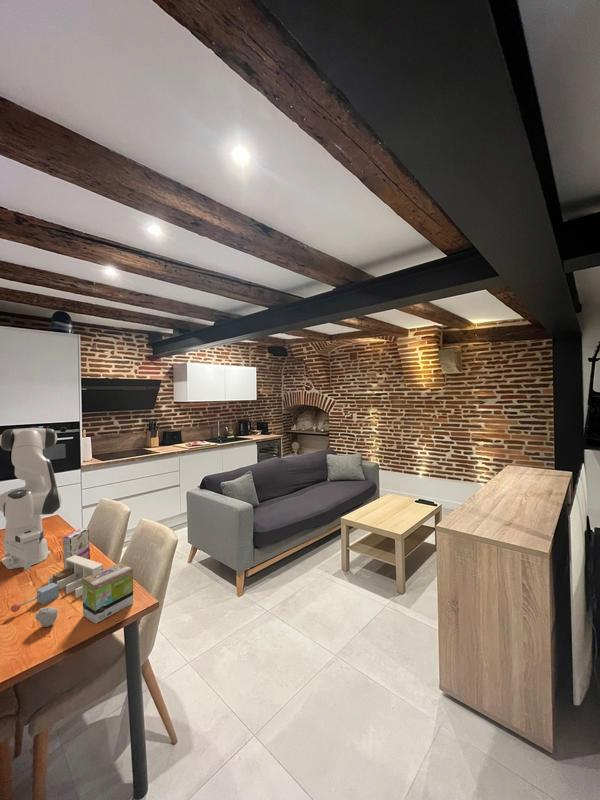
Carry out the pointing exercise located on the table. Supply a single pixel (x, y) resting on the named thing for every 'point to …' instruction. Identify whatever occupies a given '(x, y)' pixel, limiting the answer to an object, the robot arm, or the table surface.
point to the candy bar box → (76, 544)
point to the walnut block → (61, 575)
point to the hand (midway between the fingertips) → (21, 566)
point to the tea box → (107, 592)
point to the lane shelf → (77, 574)
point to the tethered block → (41, 596)
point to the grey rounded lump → (46, 616)
